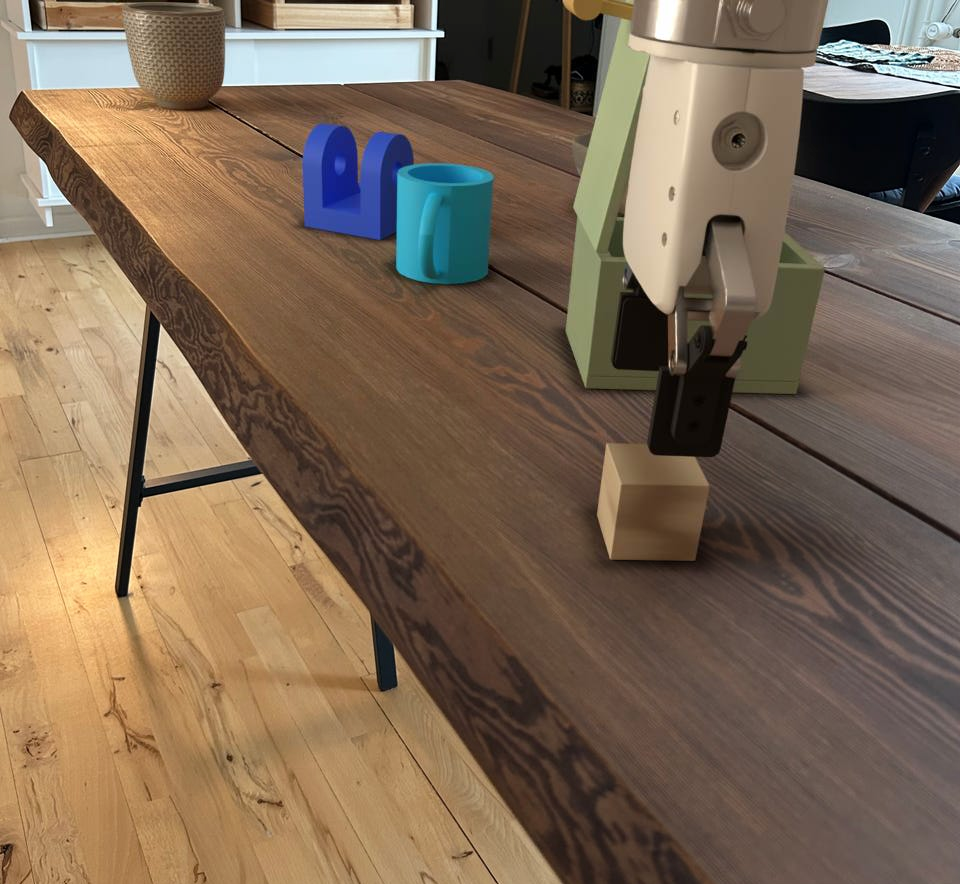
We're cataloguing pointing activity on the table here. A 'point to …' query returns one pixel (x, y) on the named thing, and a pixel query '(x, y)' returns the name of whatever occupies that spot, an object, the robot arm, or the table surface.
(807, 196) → the table surface
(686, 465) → the block
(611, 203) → the chest lid
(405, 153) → the bracket
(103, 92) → the table surface
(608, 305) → the chest
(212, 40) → the planter
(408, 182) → the mug
